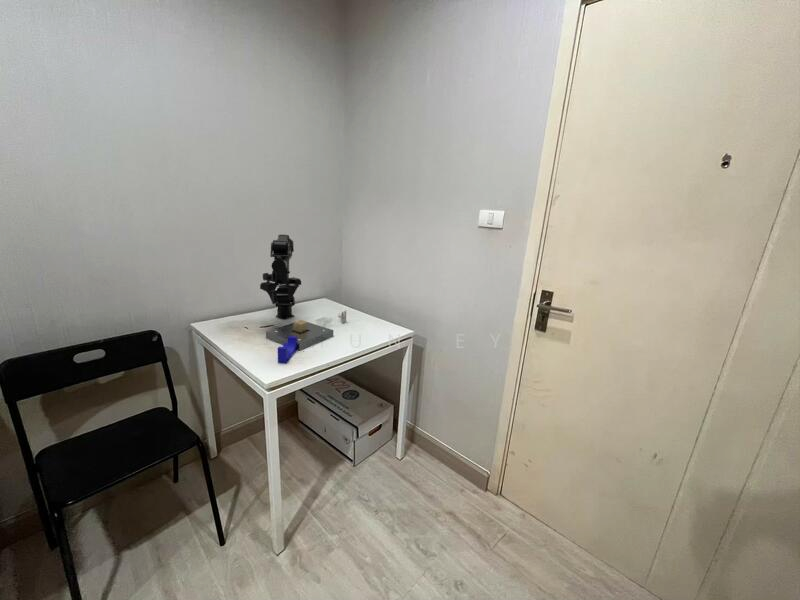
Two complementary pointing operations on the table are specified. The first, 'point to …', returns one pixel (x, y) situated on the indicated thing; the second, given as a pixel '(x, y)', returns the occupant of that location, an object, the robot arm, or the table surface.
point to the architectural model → (342, 317)
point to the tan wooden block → (300, 327)
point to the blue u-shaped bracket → (287, 350)
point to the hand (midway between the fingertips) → (282, 302)
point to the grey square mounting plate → (300, 335)
